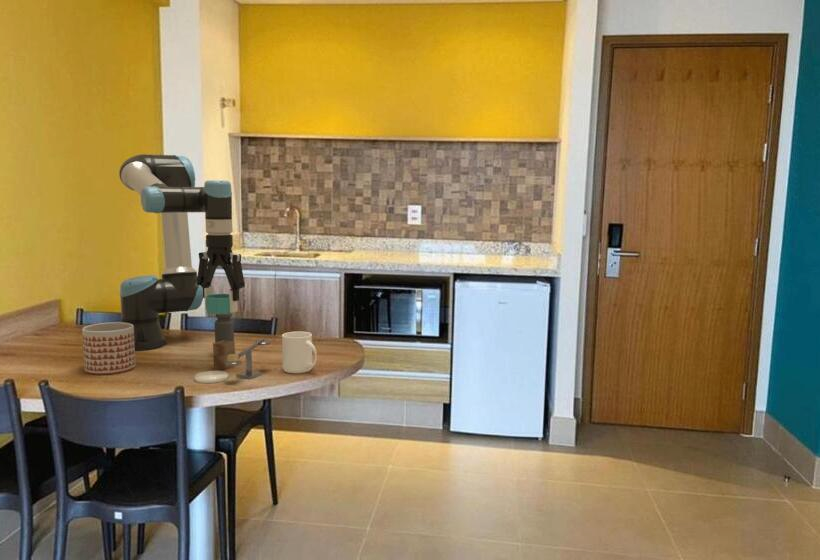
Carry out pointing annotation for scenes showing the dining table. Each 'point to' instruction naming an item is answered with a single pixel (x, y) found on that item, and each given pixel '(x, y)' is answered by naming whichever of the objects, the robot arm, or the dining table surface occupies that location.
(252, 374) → the balance
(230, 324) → the bottle
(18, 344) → the dining table surface
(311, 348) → the mug
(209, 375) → the dish
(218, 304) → the collar
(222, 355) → the block
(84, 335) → the planter
